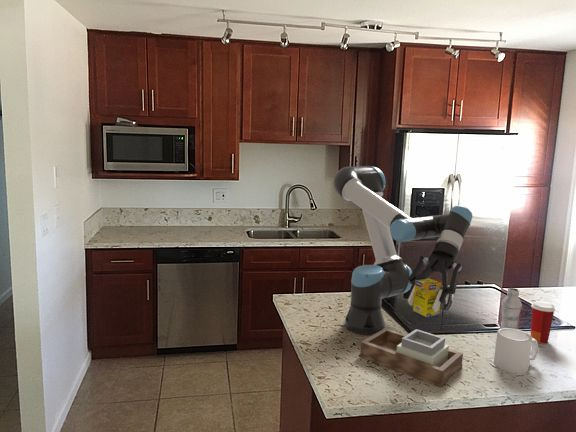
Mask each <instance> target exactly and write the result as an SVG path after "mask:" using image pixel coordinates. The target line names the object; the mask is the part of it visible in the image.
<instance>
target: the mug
mask: <svg viewBox="0 0 576 432" xmlns="http://www.w3.org/2000/svg"><path fill="white" fill-rule="evenodd" d="M538 353H539V343H537V341H536V340H535V339H534V338H532V336H531V334H529V333H528V332H526V331H523V330H520V329H518V330H517V329H511V328H502V329H500V328H499V329H497V332H496V340H495V349H494V358H493V364H494V365H495V367H497V368H499V369H500V370H502V371H505V372H509V373H512V374H513V373H514V374H523V373H527V372H528V371H529V366H530V361H534V360H536V358H537V356H538Z"/></svg>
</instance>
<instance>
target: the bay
mask: <svg viewBox="0 0 576 432" xmlns="http://www.w3.org/2000/svg"><path fill="white" fill-rule="evenodd" d="M406 335H407V334H405V333H403V332H399V331H396V330H392V329H390V328H386V327H385V328H384V329H383V330H381V331H379V332H377V333H376V334H371V336H369V337H367V338H365V339H363V340H361V342H360V352H359V357H360V358H362V359H363V360H364V359H365V360H367V361H370V362H373V363H375V364H378V365H381V366H383V367H385V368H388V369H390V370H394V371H396V372H399V373H401V374H404V375H406V376H409V377H412V378H414V379H417V380H419V381H421V382H424V383H426V384H430V385H431V386H432V385H433V386H434V387H438V388H442V387H443V386H444V385H445V384H446V383H447V382H448V381H449V380H450V379H451V378H452V377H454V375H456V374H457V373H458V372H459V371H460V370H461V369H462V368H463V358H464V353H463V352H462V351H461V352H460V351H457V350H454V349H452V348H449V350H448V360H447V362H445V363H444V364H443V365H442V366H441V367H440V368H439V367H437V366H434V365H431V364H428V363H425V362H423V361H420V360H417V359H414V358H411V357H409V356H406V355H403V354H400V353H397V345H399V344H400V343H402V338H403V337H405V336H406Z"/></svg>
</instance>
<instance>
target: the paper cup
mask: <svg viewBox="0 0 576 432" xmlns="http://www.w3.org/2000/svg"><path fill="white" fill-rule="evenodd" d="M530 307H531V320H530V321H531V325H530V335H531V336H532V338H534V339H535V340H536V341H537V344H543V345H545V344H548V342H549V338H550V333H551V328H552V323H553V319H554V313H555V312H556V308H555V305H554V304H553V303H550V302H547V301H540V300H536V301H533V302H532V303H531V305H530Z"/></svg>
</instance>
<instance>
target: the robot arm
mask: <svg viewBox="0 0 576 432" xmlns="http://www.w3.org/2000/svg"><path fill="white" fill-rule="evenodd" d="M333 177H334V178H333V183H332V184H333V188H334V191H335V192H336V193H337V195H339V197H341V198H342V199H343V200H344V201H348V202H350V201H351V202H352V203H353V204H355V205H356V206H357V207H359V208H360V209H361V210H362V215H363V218H364V222H365V225H366V229H367V232H368V233H367V234H368V235H369V236H368V237H369V239H370V243H371V244H370V245H371V248H372V251H373V254H374V258H375V261H374V263H373V264H363V265H358V266H357V267H356V268H354V269H353V271H352V272H351V273H352V274H351V275H352V276H351V281H350V282H351V285H350V287H351V289H350V304H349V305H350V306H349V309H348V311H347V314H346V316H345V320H344V326H345V328H346V329H347V330H349V331H350V332H352V333H355V334H358V335H359V334H360V335H368V336H369V335H374V334H376V333H377V332H379V331H381V330H383V329H384V328H386V327H385V325H386V322H385V319H384V315H383V311H382V299H385V298H390V297H391V298H392V297H394V296H401V295H402V294H405V293H408V292H409V296H408V299H407V303H408V305H409V306H411V307H413V305H414V292H415V281H416V280H422V279H428V278H429V276H430V275H431V274H433V273H434V272H435V273H436V272H438V273H440V274H441V279H442V280H441V283H442V290H439V293H438V295H437V297H436V300H435V302H434V305H433V307H432V308H433V310H434V312H436V313H437V311H438V308H439V306H440V307H441V305H442V304H444V303H445V301H446V299H447V297H448V295H450V294H451V295H455V293H456V290H457V285H458V282H459V277H460V276H459V275H460V273H461V272H462V271H463V268H462V264H461V263H455V261H456V259H457V257H458V255H459V251H460V249H461V247H462V246H463V242H464V239H465V237H466V235H467V233H468V230H469V229H470V228H469V227H471V223H472V220H473V213H472V211H471V210H470V209H469V208H468V207H466V206H463V205H454V206H453V207H451V209H450V210H449V212H448V213H445V214H440V215H439V214H438V215H429V216H428V215H427V216H422V217H411V216H409V215H408V214H406V213H405V212H404V211H402V210H400V209H399V208H398V207H396V206H394V205H393V204H392V203H389V202H388V201H387V200H385V199H384V198H383V196H384V192H383V191H384V190H385V187H386V183H387V182H386V177H385V174H384V173H383V171H382V170H381V169H380V168H378V167H376V166H371V165H365V166H364V165H362V166H361V165H360V166H344V167H342V168H339V170H337V172H336V173H335V175H334V176H333ZM431 238H437V240H436V243H435V245H434V248H433V249H432V252H431V254H430V255H429V256H428V257H424V256H423V255H421V256H420V257H419V261H418V262H417V264H416V266H415V267H414V269H413V270H412V268H411V267H410V266H408V265H407V264H406V263H404V262H403V258H402V257H400V256H399V255H398V253H397V250H396V247H395V244H394V240H395V241H396V242H402V243H403V242H404V243H405V242H410V241H417V240H422V239H423V240H424V239H431ZM427 263H428V264H427ZM425 266H426V267H425ZM451 269H453V271H452V275H451V280H450V284H449V279H448V278H449V273H448V272H449V270H451Z"/></svg>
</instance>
